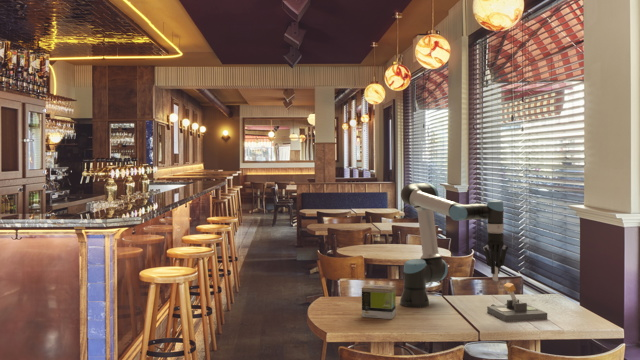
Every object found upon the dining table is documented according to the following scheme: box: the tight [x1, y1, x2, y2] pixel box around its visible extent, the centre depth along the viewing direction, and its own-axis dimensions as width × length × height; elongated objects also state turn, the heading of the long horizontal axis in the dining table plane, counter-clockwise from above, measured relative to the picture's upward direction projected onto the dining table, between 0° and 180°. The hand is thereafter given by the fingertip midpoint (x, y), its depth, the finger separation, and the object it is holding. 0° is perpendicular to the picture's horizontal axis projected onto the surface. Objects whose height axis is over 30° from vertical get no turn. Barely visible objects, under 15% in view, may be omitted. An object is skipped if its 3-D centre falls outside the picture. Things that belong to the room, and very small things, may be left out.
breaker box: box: [486, 298, 548, 323], centre depth 293 cm, size 22×26×7 cm
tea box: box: [361, 283, 397, 320], centre depth 288 cm, size 15×10×15 cm, turn 71°
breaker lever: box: [503, 282, 518, 307], centre depth 289 cm, size 3×5×13 cm, turn 12°
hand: (495, 280), depth 286 cm, fingers closed
